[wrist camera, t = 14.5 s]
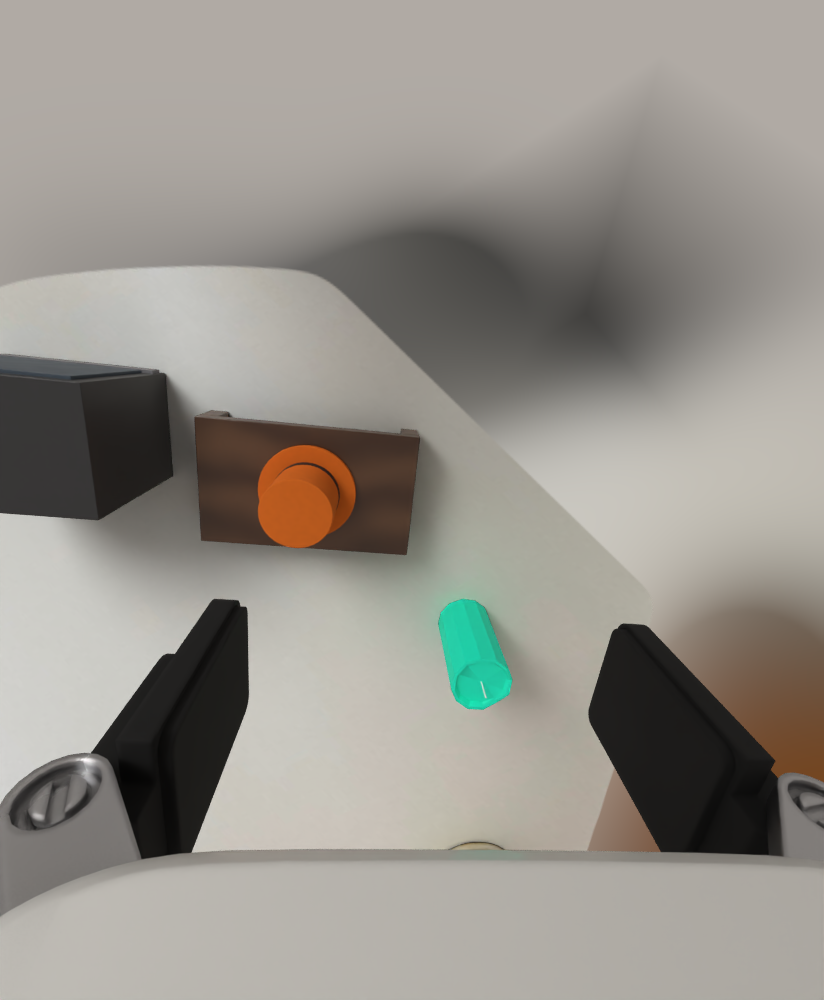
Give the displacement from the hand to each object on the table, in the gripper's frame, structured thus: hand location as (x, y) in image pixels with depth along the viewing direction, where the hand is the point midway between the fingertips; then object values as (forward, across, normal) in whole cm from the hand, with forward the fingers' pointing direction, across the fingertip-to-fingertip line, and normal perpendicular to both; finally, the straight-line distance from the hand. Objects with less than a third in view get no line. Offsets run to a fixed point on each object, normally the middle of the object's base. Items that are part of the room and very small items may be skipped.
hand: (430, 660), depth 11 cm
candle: (+34, -10, +22) cm, 42 cm away
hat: (+30, +8, +6) cm, 32 cm away
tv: (+34, +29, +2) cm, 45 cm away
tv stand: (+34, +8, +6) cm, 36 cm away
